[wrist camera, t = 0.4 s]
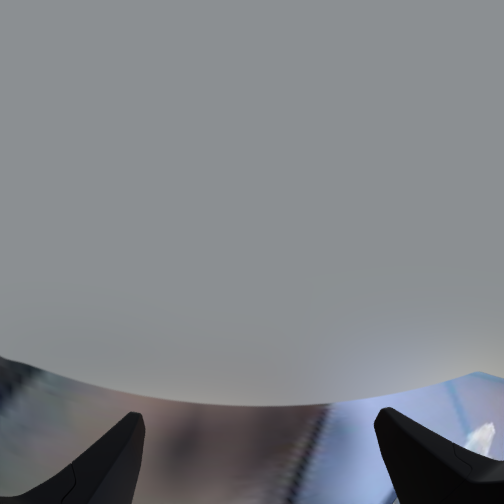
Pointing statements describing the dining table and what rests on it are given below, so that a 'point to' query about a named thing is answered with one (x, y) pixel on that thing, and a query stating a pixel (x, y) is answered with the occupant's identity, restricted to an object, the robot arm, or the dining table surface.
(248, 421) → the dining table surface
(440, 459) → the robot arm
